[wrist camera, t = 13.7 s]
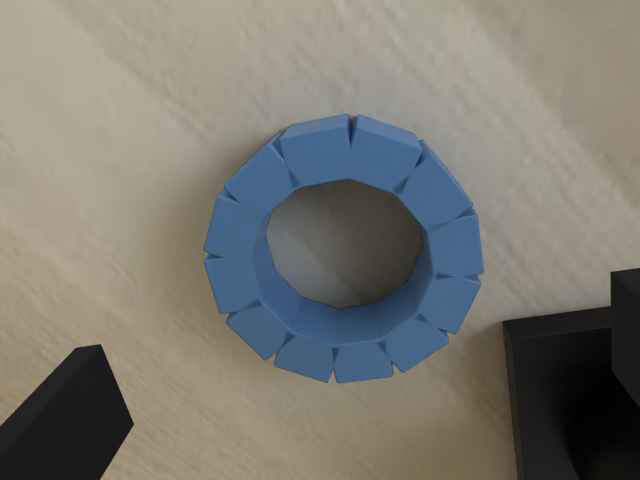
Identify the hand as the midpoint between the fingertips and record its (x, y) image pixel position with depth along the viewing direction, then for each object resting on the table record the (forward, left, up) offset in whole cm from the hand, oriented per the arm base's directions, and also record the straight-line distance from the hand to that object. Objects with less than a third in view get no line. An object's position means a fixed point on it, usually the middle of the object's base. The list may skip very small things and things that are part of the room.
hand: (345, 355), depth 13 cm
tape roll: (0, 0, -9) cm, 9 cm away
